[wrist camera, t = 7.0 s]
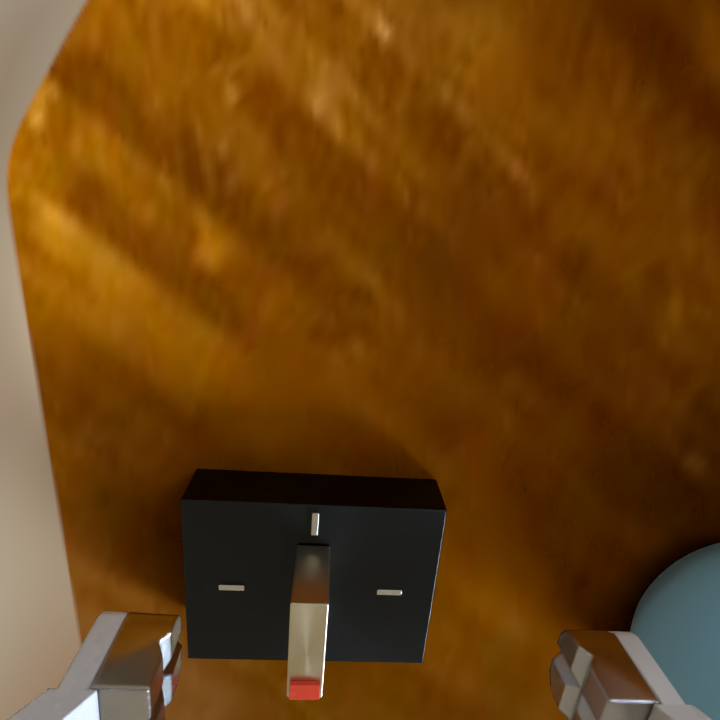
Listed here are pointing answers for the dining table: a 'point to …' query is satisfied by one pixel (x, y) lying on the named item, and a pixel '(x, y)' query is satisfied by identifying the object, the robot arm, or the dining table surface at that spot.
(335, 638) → the rod panel
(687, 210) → the dining table surface
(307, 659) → the turn handle
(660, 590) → the sugar bowl
